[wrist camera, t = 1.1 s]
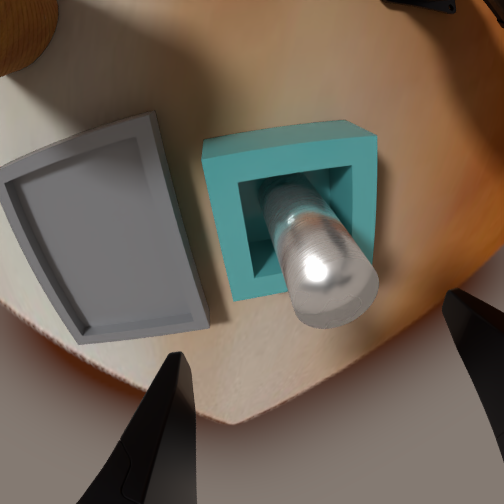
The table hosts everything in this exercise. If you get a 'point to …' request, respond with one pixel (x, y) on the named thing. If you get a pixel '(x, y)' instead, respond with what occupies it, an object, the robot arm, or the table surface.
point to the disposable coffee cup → (25, 31)
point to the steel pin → (316, 254)
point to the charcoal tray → (106, 233)
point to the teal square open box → (280, 163)
